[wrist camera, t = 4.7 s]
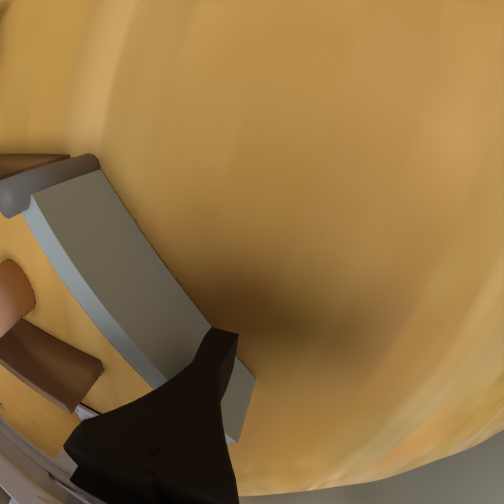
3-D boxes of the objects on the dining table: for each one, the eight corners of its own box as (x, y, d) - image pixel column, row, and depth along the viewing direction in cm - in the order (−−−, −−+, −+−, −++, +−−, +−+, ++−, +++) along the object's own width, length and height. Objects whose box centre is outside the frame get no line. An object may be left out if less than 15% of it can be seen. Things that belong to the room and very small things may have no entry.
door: (257, 378, 15) (235, 456, 10) (236, 383, 15) (210, 458, 11) (90, 147, 11) (3, 172, 7) (74, 165, 12) (-7, 195, 7)
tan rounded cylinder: (41, 316, 18) (9, 346, 14) (11, 299, 18) (-19, 324, 15) (27, 266, 16) (-12, 295, 12) (-2, 253, 16) (-37, 276, 13)
